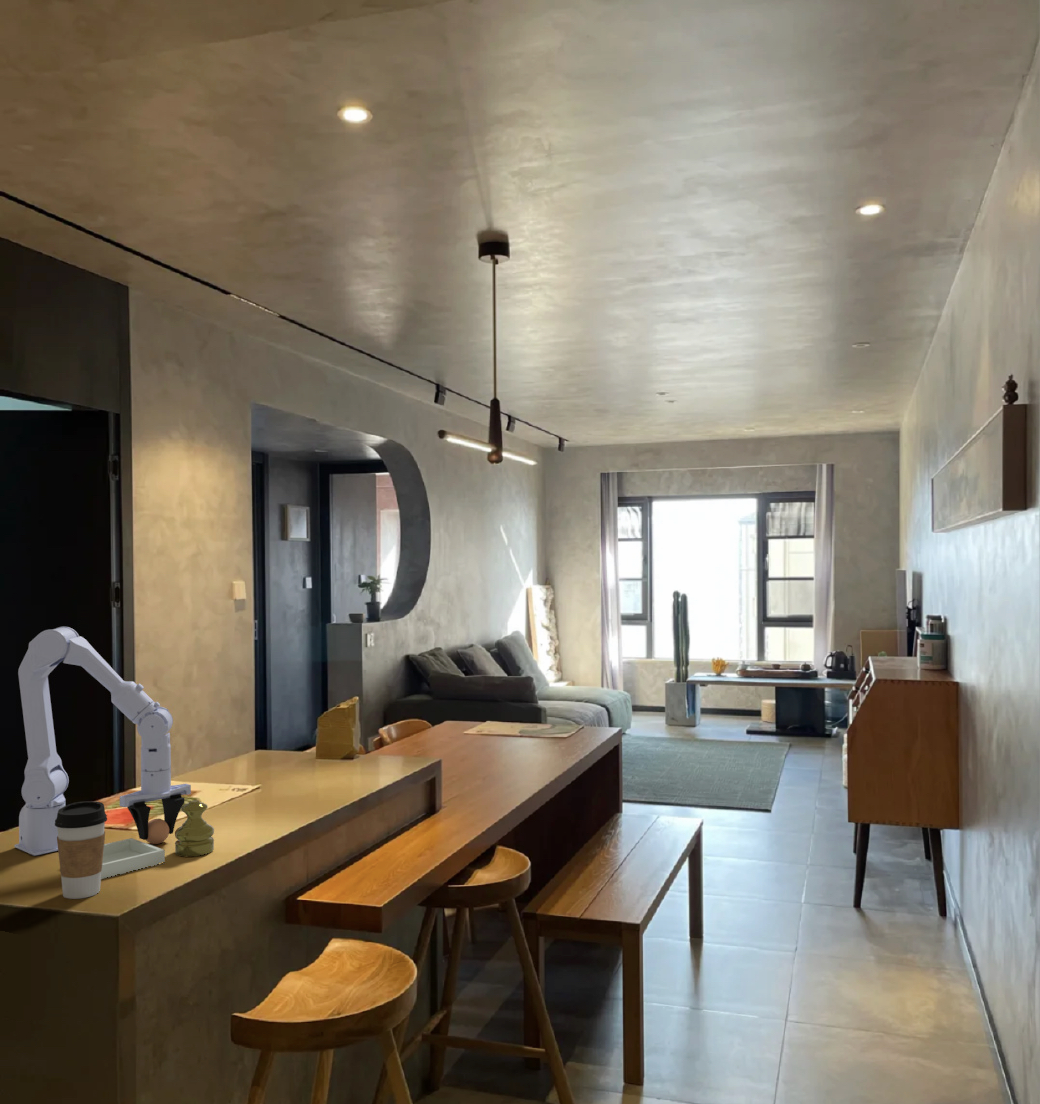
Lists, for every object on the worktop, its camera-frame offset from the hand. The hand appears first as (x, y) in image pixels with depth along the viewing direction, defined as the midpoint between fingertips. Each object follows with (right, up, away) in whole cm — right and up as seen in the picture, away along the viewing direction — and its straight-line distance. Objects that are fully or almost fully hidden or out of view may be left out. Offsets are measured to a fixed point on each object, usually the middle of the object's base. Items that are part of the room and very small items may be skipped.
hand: (156, 835), depth 205 cm
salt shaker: (+10, -2, -6) cm, 11 cm away
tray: (-3, -2, -14) cm, 14 cm away
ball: (0, -2, 0) cm, 2 cm away
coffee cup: (-2, -2, -30) cm, 30 cm away
